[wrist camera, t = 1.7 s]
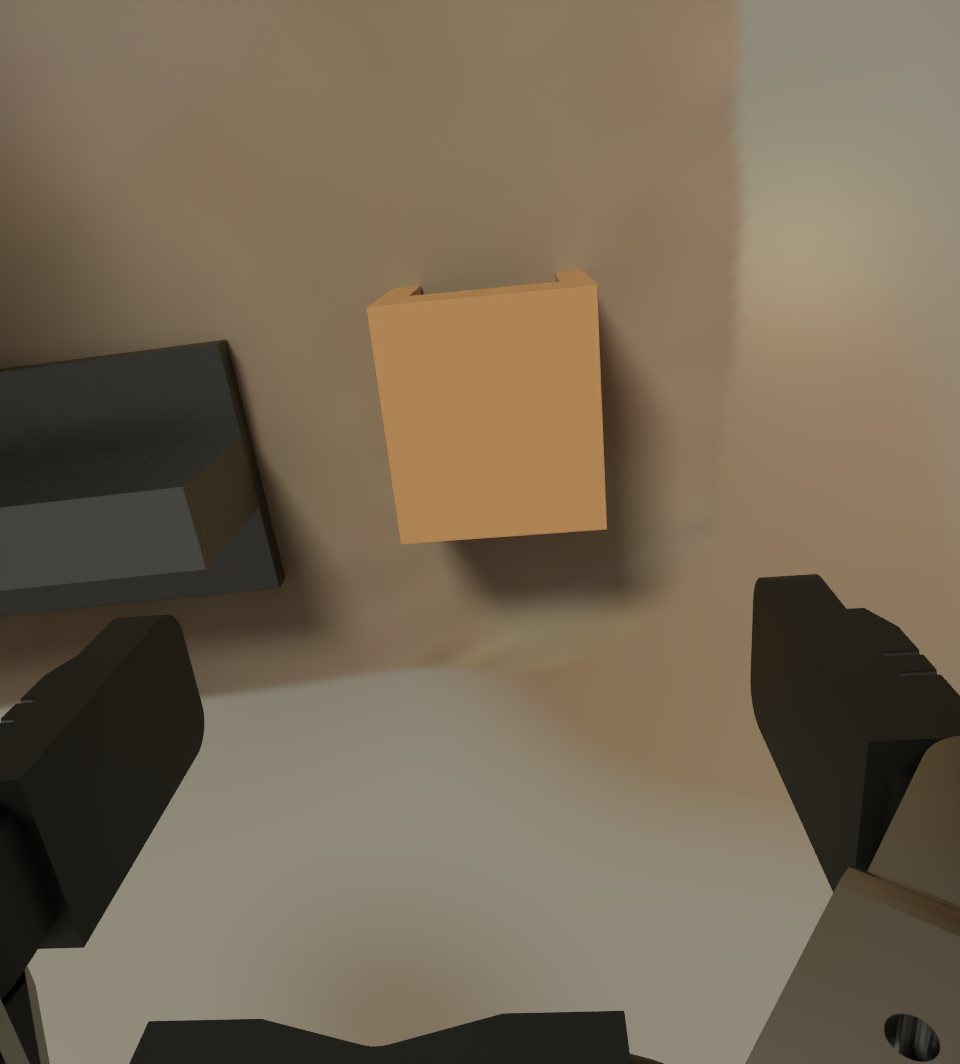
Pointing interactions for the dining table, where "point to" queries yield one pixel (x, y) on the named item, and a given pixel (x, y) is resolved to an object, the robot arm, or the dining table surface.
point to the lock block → (492, 409)
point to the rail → (135, 421)
